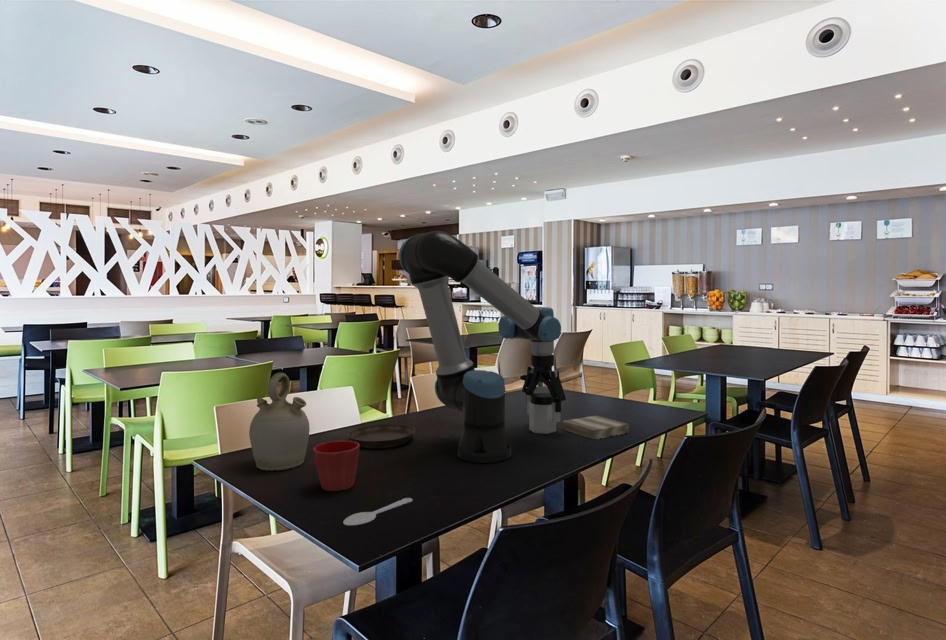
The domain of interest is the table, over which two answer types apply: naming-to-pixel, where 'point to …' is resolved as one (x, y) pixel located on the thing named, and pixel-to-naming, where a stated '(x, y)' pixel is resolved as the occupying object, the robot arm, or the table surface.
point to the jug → (279, 429)
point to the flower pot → (337, 464)
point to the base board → (595, 427)
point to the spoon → (372, 513)
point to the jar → (541, 413)
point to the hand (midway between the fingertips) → (543, 417)
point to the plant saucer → (381, 435)
